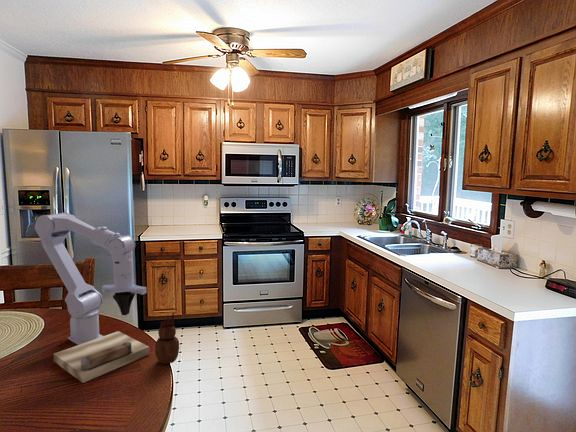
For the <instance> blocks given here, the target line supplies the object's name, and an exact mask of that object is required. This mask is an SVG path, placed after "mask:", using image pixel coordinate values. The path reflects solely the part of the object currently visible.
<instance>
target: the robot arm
mask: <svg viewBox="0 0 576 432" xmlns="http://www.w3.org/2000/svg"><path fill="white" fill-rule="evenodd" d="M34 230H35V232H36V234H37V235H38V237H39V238H40V239H39V240H40V241H41V242H40V243H41V246H42V248H43V250H44V251H45V253H46V255H47V257H48V259H49V260H50V262H51V264H52V265H53V267H54V269H55V270H56V272H57V274H58V275H59V277H60V280H61V281H62V283H63V285H64V286H65V289H66V291H68V293H67V295H66V297H65V298H64V302H65V304H66V306H67V307H66V308H67V311H68V313H69V315H70V316H71V317H70V320H69V327H70V336H68V337H67V339H68V340H70V341H71V342H72V343H74V344H76V346H77V345H80V344H83V343H86V342H89V341H91V340H94V339H97V338H100V337H103V336H104V335H102V334H100V324H99V323H100V322H99V321H100V320H99V318H100V317H99V312H100V310H101V309H100V308H101V307H102V306H103V304H104V298H103V295H102V294H101V293H100V292H99V291H97V289H96V288H95V286H93V285H91V284H88V283H86V282H85V280H84V278H83V276H82V274H81V273H80V271H79V269H78V267H77V265H76V264H75V262H74V260H73V259H72V256H71V255H70V254H69V252H68V250H67V248H66V246H65V245H64V241H65V239H66V238H67V237H68V235H69V233H70V232H74V233H76V234H78V235H82V236H85V237H87V238H89V239H90V241H91V243H92V244H94V245H96V246H98V247H101V248H103V249H105V250H107V251H108V253H109V255H110V257H111V260H112V269H113V271H112V272H113V284H104V285H102V286H101V292H102V293H114V294H113V295H112V298H113V300H114V301H115V302H116V303H117V306H118V308H119V311H120V313H121V316H128V315H129V314H130V310H131V305H132V302H133V300H134V297H136V294H140V295H141V296H142V295H145V294H147V293H148V292H147V286H141V285H137V284H134V267H133V265H134V264H133V251H134V250H135V248H136V241H135V239H134V238H133V237H132V236H130V235H129V234H124V235H121V233H119V232H114V231H112V230H110V229H108V227H107V226H98V227H95V226H92V225H91V224H88V223H86V222H85V221H83V220H80V219H79V218H78V217H76V216H75V215H74V214H70V213H68V212H60V213H55V214H47V215H46V214H44V215H39V216H38V217H37V219H36V221H35V225H34Z"/></svg>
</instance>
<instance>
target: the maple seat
mask: <svg viewBox="0 0 576 432" xmlns="http://www.w3.org/2000/svg"><path fill="white" fill-rule="evenodd" d="M102 336H103V337H100V338H97V339H94V340H91V341H89V342H86V343H83V344H80V345H77V344H76V345H74V346H72V347H69V348H66V349H63V350H60V351H58V352H54V353H53V362H54V363H55V364H56V365H58V366H59V367H61V369H63V370H65V371H66V372H67V373H69V374H70V375H71V376H73V377H74V378H76V379H77V380H78V381H79V382H81V383H82V384H83V383H86V382H89V381H91V380H93V379H96V378H98V377H100V376H102V375H105V374H107V373H109V372H111V371H114V370H116V369H118V368H121V367H124V366H126V365H128V364H130V363H133V362H135V361H137V360H140V359H142V358H145V357H146V356H149V355H150V346H149V345H147V344H145V343H144V342H143V343H142V342H140V341H138V340H137V339H134V338H133V337H131V336H129V335H127V334H125V333H123V332H121V331H119V330H118V331H115V332H112V333H109V334H106V335H102ZM126 342H130V343H131V349H132V352H131V353H129V354H126V355H124V356H121V357H118V358H116V359H113V360H111V361H108V362H105V363H103V364H100V365H97V366H95V367H92V368H90V369H87V370H82V369H81V359H82V358H83V357H86V356H89V355H92V354H95V353H98V352H100V351H103V350H106V349H109V348H112V347H114V346H117V345H120V344H123V343H126Z"/></svg>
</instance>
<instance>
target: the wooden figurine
mask: <svg viewBox="0 0 576 432" xmlns="http://www.w3.org/2000/svg"><path fill="white" fill-rule="evenodd" d="M174 315H175V313H174V312H172V314H171V318H170V316H169V314H167V317H166V318H163V321H161V322H160V327H159V328H158V337H157V338H158V339H157V340H156V341H155V345H154V346H155V348H154V349H155V351H154V352H155V353H154V354H155V357H156V359H157V361H158V362H159V363H160V364H164V365H167V364H168V365H169V364H173V363H174V362H175V361H176V360H178V359H177V358H178V356H179V351H180V341H179V338H178V337H177V336H176V332H177V330H176V327H175V325H174V324H175V316H174Z"/></svg>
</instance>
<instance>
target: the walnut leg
mask: <svg viewBox="0 0 576 432" xmlns="http://www.w3.org/2000/svg"><path fill="white" fill-rule="evenodd" d="M131 352H132V349H131V343H130V342H126V343H123V344H120V345H117V346H114V347H112V348H109V349H106V350H103V351H100V352H98V353H95V354H92V355H89V356H86V357H83V358H82V359H81V369H82V370H87V369H90V368H92V367H95V366H97V365H100V364H103V363H105V362H108V361H111V360H113V359H116V358H118V357H121V356H124V355H126V354H129V353H131Z"/></svg>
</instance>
